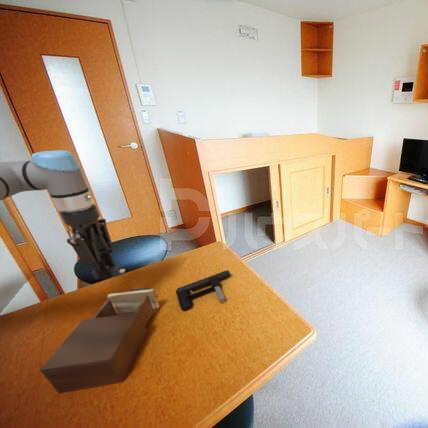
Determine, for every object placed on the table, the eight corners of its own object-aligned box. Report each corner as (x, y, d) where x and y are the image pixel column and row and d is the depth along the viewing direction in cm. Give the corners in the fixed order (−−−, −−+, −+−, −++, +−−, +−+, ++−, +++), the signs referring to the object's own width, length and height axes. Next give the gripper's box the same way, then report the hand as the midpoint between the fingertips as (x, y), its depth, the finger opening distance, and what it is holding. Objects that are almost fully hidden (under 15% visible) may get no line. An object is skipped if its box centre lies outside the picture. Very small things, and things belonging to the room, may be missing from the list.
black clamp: (240, 290, 91) (226, 266, 102) (182, 315, 80) (173, 286, 91) (241, 296, 92) (227, 272, 103) (184, 322, 81) (175, 292, 92)
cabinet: (95, 341, 73) (82, 319, 69) (148, 334, 76) (138, 312, 72) (58, 393, 60) (39, 369, 56) (123, 382, 63) (110, 358, 59)
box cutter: (94, 279, 75) (90, 272, 74) (99, 273, 77) (96, 267, 76) (123, 275, 76) (120, 269, 75) (127, 270, 79) (124, 263, 78)
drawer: (123, 301, 86) (116, 285, 83) (164, 297, 89) (158, 280, 86) (91, 346, 71) (80, 328, 67) (141, 338, 73) (133, 321, 70)
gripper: (73, 218, 60) (107, 289, 70) (109, 196, 74) (133, 258, 84) (37, 221, 59) (77, 293, 69) (81, 198, 73) (109, 261, 83)
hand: (108, 274), depth 76 cm, fingers closed on box cutter, 3 cm apart
